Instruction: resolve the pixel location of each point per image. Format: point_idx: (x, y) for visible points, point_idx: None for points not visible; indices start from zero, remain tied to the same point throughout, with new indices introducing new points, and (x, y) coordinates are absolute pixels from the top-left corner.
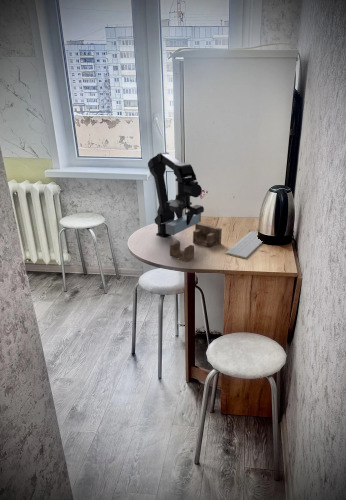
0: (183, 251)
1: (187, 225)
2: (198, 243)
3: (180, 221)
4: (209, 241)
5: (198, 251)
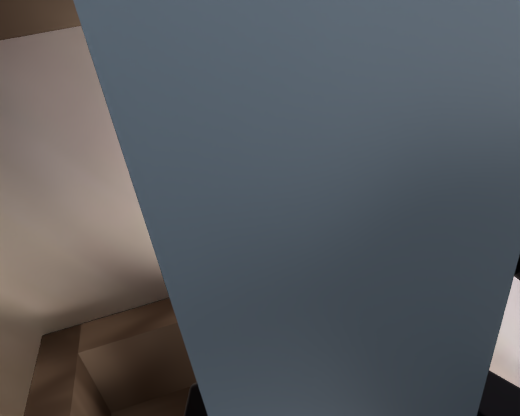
0: (14, 9)
1: (192, 384)
2: (170, 301)
3: (263, 347)
4: (41, 380)
5: (25, 211)
